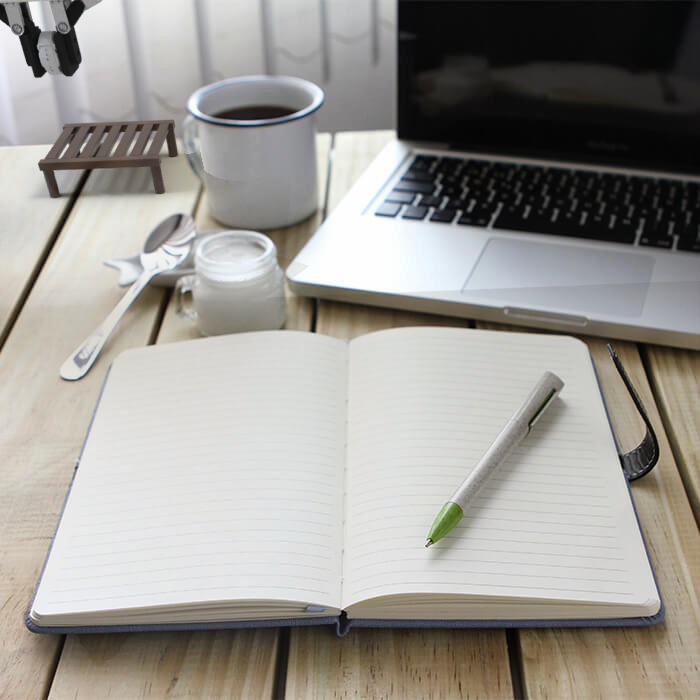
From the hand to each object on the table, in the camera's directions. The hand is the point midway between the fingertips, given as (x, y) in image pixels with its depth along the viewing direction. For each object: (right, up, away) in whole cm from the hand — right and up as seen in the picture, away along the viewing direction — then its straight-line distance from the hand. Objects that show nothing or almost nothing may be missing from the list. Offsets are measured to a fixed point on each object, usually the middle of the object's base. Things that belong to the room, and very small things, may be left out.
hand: (57, 71), depth 77 cm
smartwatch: (0, 0, 0) cm, 0 cm away
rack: (-1, -5, +22) cm, 22 cm away
